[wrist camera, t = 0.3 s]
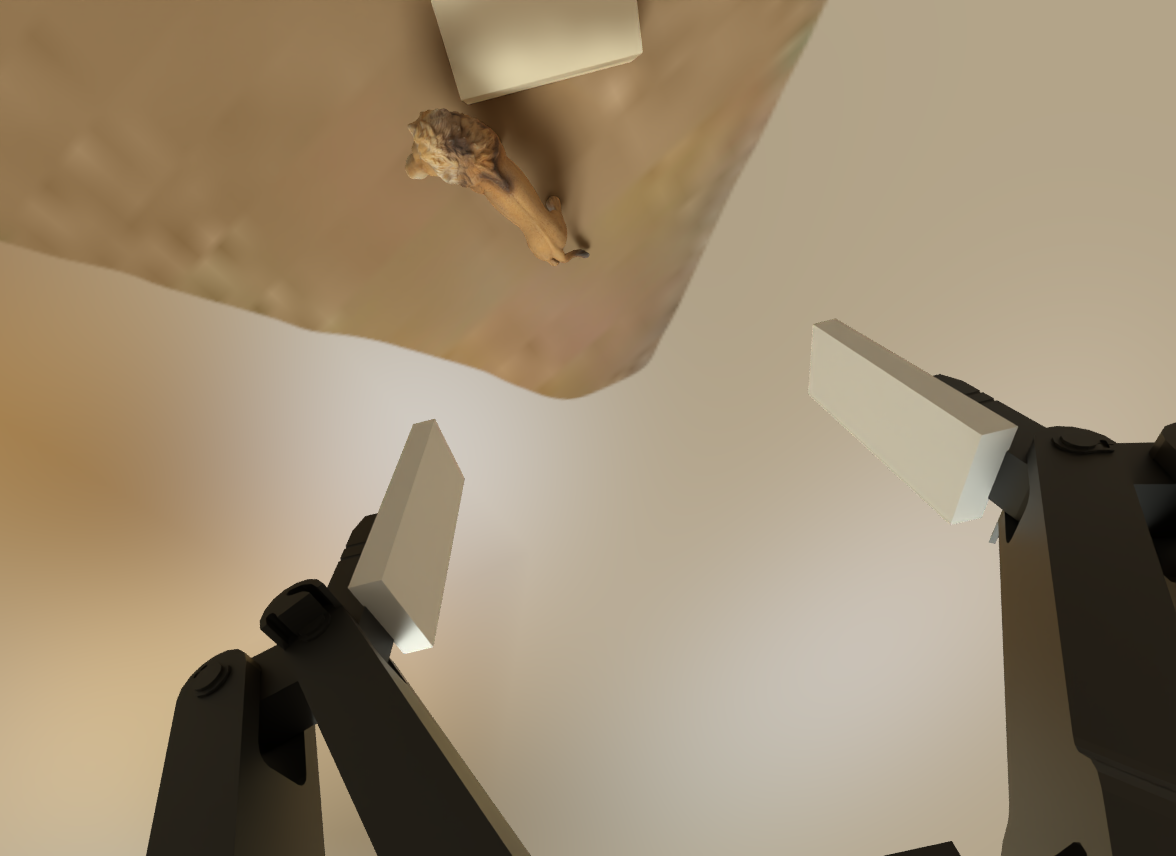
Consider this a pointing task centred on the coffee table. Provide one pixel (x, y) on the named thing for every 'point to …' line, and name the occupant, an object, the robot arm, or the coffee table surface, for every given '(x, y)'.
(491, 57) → the plate
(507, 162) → the lion figurine
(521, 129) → the coffee table surface
